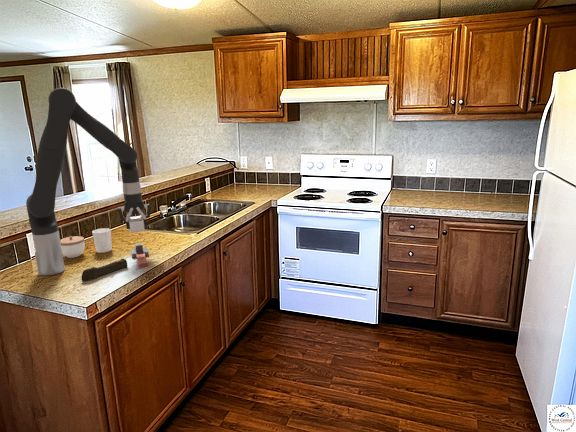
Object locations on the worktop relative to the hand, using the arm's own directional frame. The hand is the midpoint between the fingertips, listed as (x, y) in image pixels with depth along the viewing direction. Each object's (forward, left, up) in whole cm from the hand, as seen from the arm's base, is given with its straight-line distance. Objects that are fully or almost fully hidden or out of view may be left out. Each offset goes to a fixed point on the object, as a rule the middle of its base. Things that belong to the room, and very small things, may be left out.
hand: (136, 227), depth 182 cm
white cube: (0, 0, -1) cm, 1 cm away
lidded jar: (-28, +13, -13) cm, 34 cm away
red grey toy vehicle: (0, -7, -13) cm, 15 cm away
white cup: (-15, +14, -13) cm, 24 cm away
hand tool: (-15, -19, -13) cm, 27 cm away
